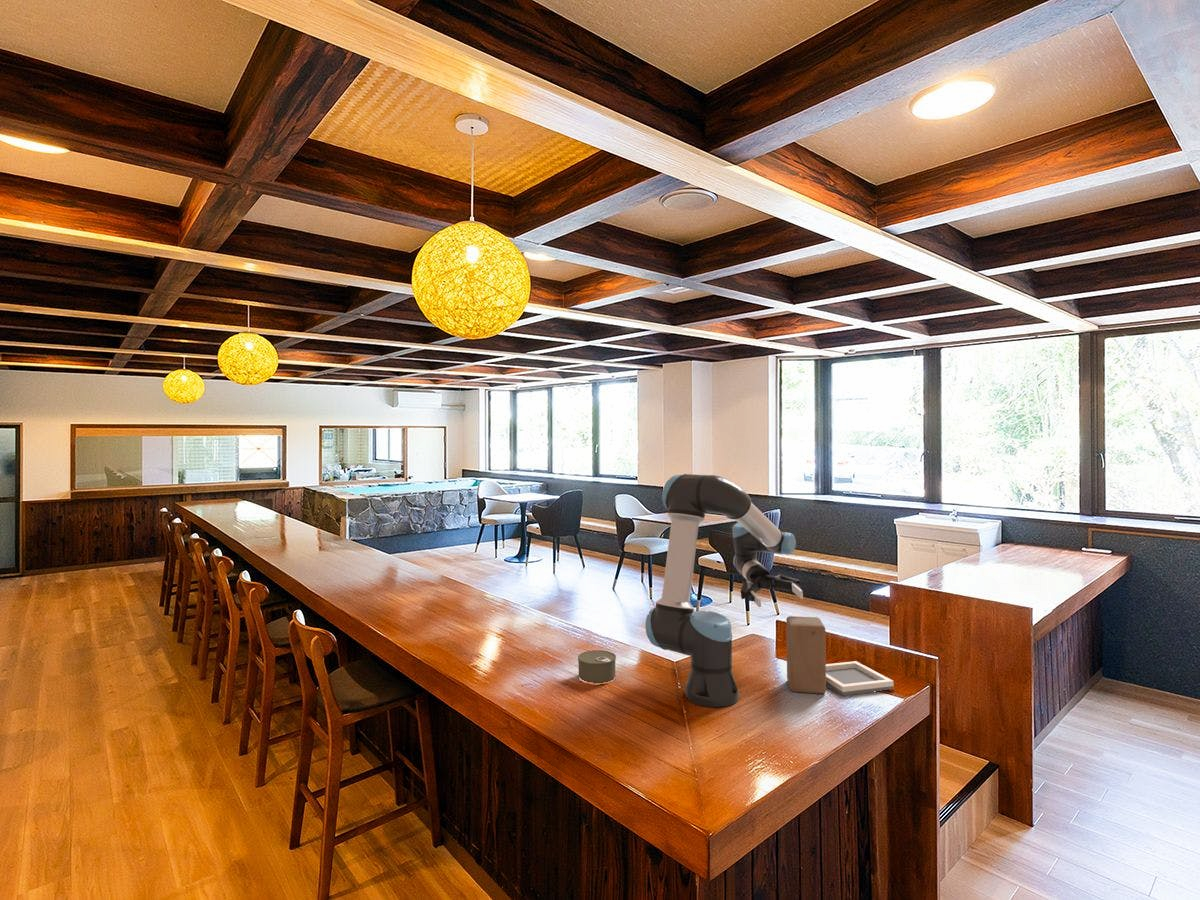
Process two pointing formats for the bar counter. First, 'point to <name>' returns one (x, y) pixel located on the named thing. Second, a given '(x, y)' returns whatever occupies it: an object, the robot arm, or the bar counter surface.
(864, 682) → the locating plate
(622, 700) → the bar counter surface
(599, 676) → the can
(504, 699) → the bar counter surface
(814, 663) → the wooden block
